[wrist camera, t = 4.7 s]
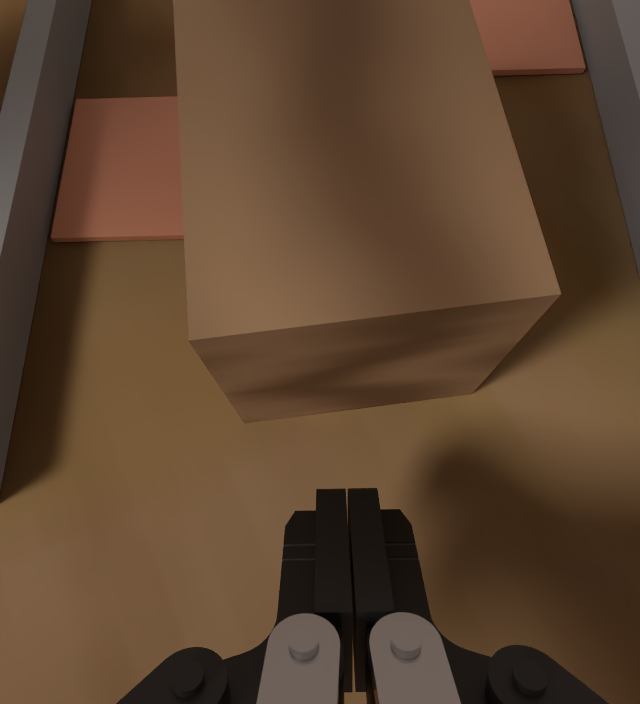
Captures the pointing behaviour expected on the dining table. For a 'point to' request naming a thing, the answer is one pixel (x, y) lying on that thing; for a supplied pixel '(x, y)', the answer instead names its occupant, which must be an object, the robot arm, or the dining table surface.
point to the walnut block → (349, 204)
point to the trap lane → (164, 148)
